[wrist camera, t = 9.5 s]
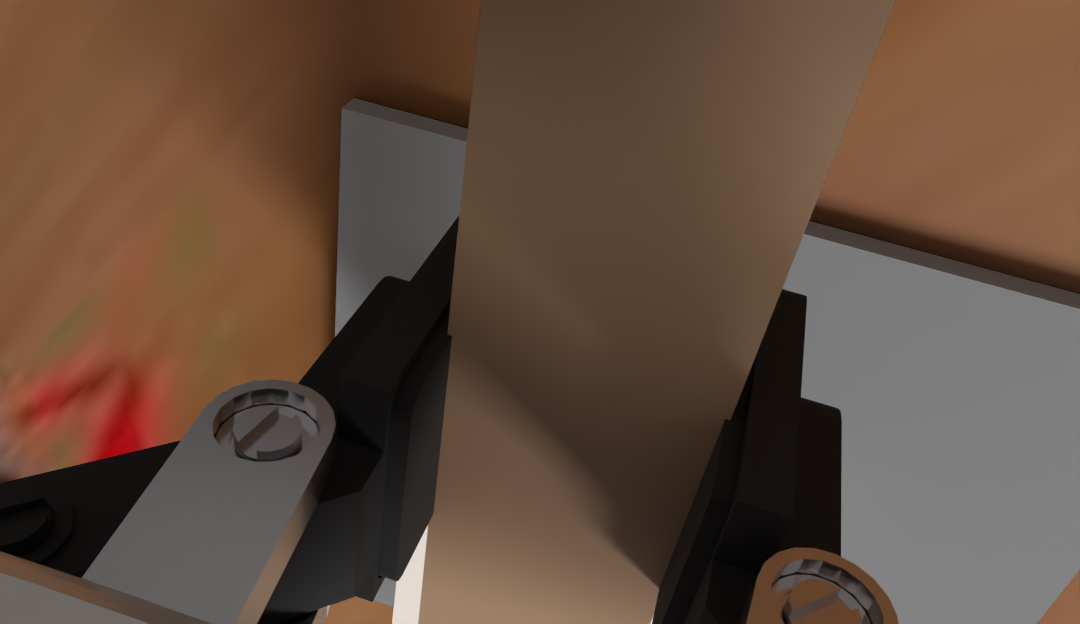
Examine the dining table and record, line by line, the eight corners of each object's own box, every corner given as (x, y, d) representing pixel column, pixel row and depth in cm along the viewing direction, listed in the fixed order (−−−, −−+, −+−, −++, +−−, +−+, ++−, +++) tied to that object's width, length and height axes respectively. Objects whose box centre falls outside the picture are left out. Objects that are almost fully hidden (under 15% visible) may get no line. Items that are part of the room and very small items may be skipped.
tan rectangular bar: (661, -568, 8) (549, -670, 5) (1030, -508, 7) (1124, -582, 5) (467, 621, 19) (402, 786, 16) (606, 669, 19) (562, 847, 16)
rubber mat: (354, 98, 19) (341, 108, 19) (1238, 337, 17) (1249, 355, 17) (336, 569, 29) (327, 584, 28) (906, 765, 27) (907, 785, 26)
